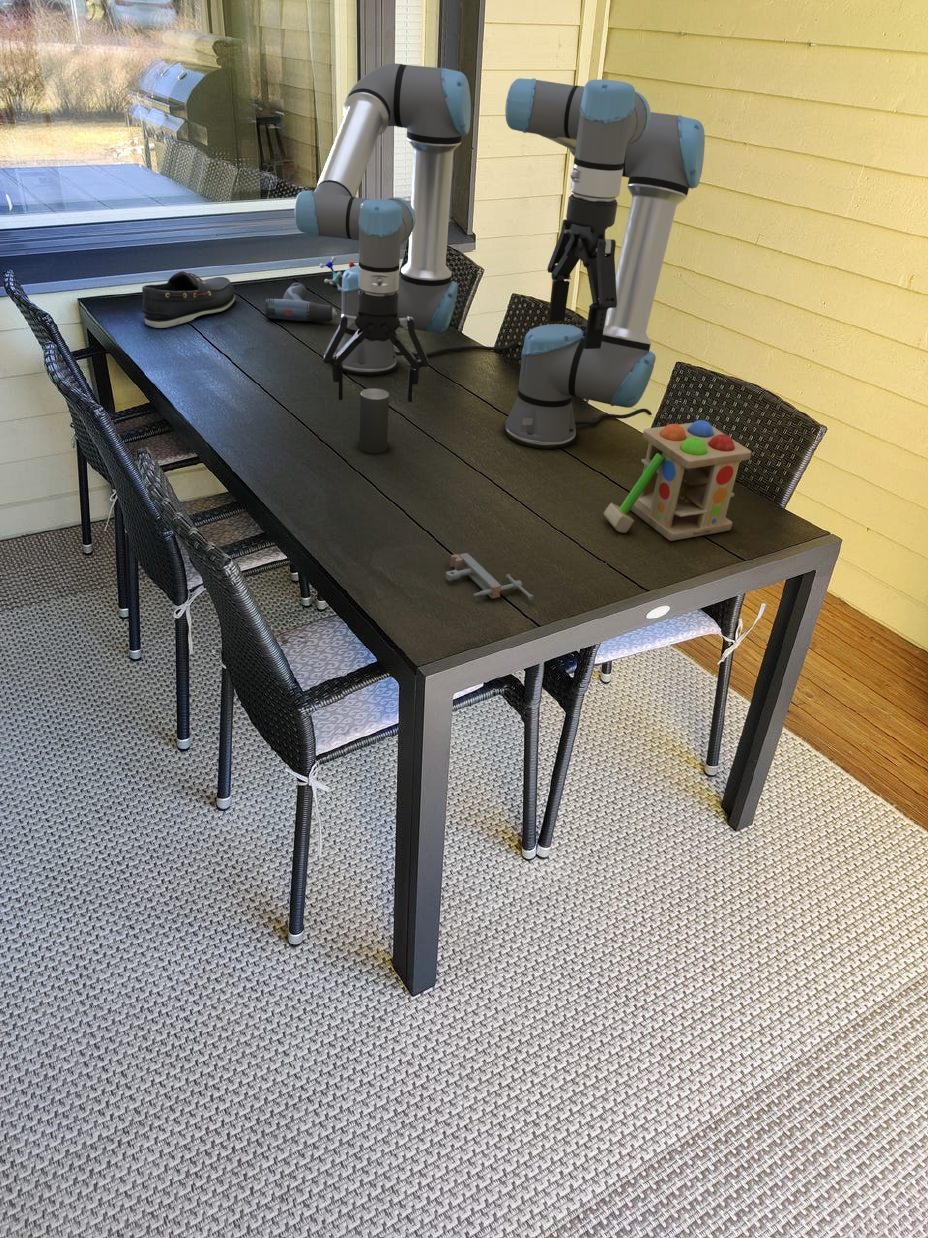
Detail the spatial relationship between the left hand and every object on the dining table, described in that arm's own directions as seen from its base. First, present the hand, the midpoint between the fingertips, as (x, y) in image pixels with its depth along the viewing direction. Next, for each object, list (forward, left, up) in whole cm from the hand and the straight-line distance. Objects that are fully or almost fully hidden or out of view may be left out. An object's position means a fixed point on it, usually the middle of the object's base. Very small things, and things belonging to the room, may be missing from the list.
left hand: (375, 398), depth 194 cm
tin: (0, 0, -10) cm, 10 cm away
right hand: (-7, +42, +24) cm, 49 cm away
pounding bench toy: (-25, +55, -10) cm, 61 cm away
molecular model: (-61, -93, -10) cm, 112 cm away
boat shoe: (-12, -92, -10) cm, 94 cm away
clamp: (+18, +52, -10) cm, 56 cm away
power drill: (-38, -77, -10) cm, 87 cm away
